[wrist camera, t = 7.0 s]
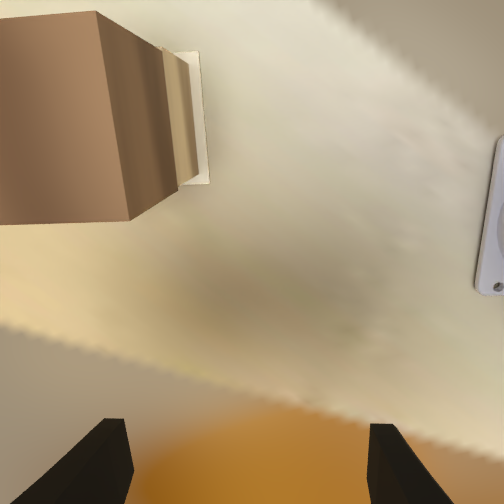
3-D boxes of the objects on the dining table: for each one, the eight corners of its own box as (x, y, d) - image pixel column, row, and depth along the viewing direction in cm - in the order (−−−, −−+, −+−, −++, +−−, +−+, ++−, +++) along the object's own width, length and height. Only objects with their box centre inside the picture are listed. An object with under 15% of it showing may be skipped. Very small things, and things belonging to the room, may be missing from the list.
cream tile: (198, 51, 17) (198, 51, 17) (209, 183, 19) (209, 183, 19) (73, 60, 17) (72, 59, 17) (97, 187, 19) (96, 188, 19)
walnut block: (162, 51, 13) (95, 10, 9) (178, 190, 15) (129, 221, 10) (30, 60, 14) (-102, 27, 9) (60, 195, 15) (-39, 226, 11)
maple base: (188, 63, 17) (161, 46, 13) (198, 174, 19) (177, 186, 15) (84, 70, 17) (29, 56, 14) (103, 177, 19) (59, 191, 15)
